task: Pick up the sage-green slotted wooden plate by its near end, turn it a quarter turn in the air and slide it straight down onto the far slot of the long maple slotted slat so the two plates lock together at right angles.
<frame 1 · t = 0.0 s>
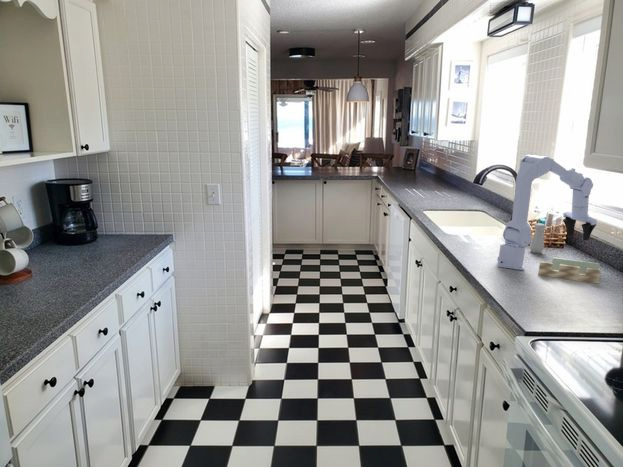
hand: (578, 237, 196), 11 cm above the countertop, tool pointing down, fingers open, 7 cm apart
green plate: (573, 272, 184), on the countertop
maple slat: (567, 278, 177), on the countertop
salt shaker: (535, 252, 211), on the countertop
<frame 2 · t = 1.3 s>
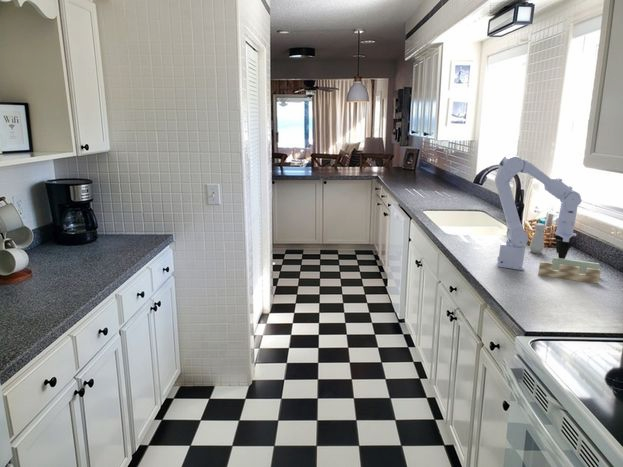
hand: (560, 255, 184), 6 cm above the countertop, tool pointing down, fingers open, 7 cm apart
nothing on the countertop moved.
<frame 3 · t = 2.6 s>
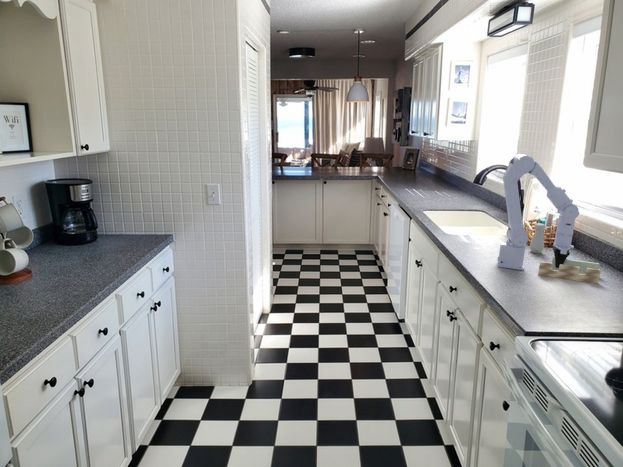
hand: (558, 267, 186), 1 cm above the countertop, tool pointing down, fingers closed on green plate
green plate: (573, 272, 184), on the countertop, touching gripper
everything else where it was.
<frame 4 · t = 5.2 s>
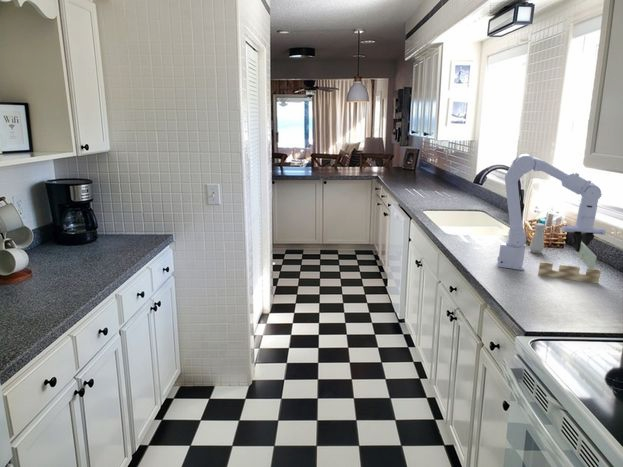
hand: (579, 251, 179), 9 cm above the countertop, tool pointing down, fingers closed on green plate
green plate: (583, 260, 175), point 7 cm above the countertop, tilted 6°, touching gripper
everything else where it was.
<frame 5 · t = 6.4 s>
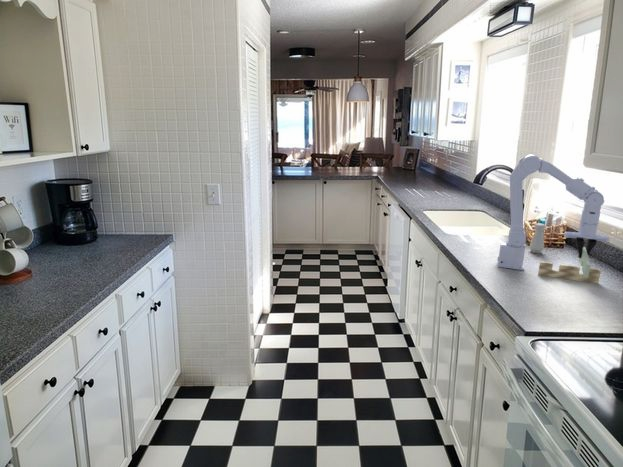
hand: (582, 258, 179), 7 cm above the countertop, tool pointing down, fingers closed on green plate
green plate: (583, 267, 175), point 5 cm above the countertop, tilted 9°, touching gripper
everything else where it was.
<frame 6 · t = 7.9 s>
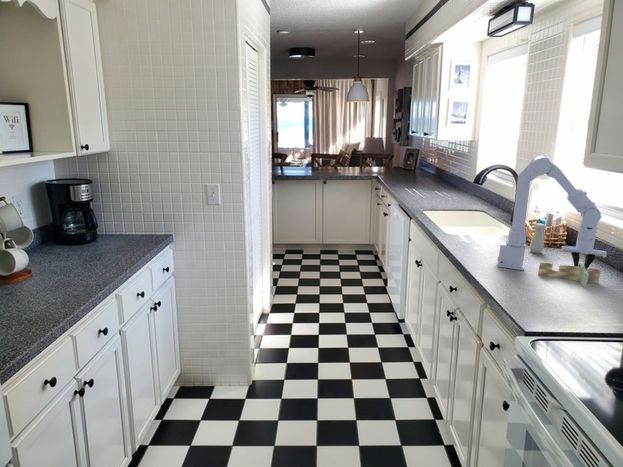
hand: (579, 272, 180), 2 cm above the countertop, tool pointing down, fingers closed
green plate: (581, 280, 176), on the countertop, touching maple slat
everything else where it was.
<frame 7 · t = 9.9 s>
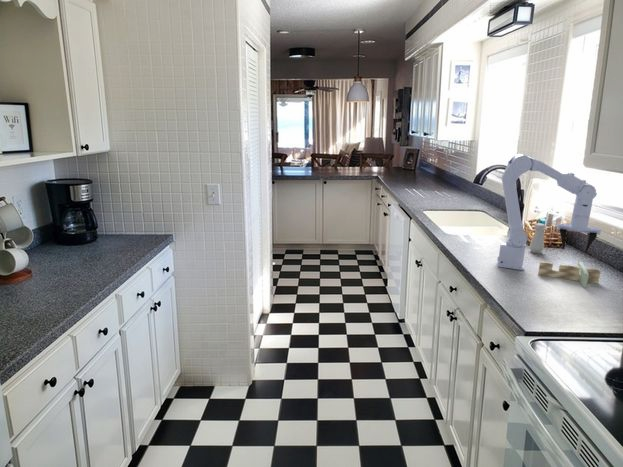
hand: (574, 250, 181), 9 cm above the countertop, tool pointing down, fingers open, 7 cm apart
nothing on the countertop moved.
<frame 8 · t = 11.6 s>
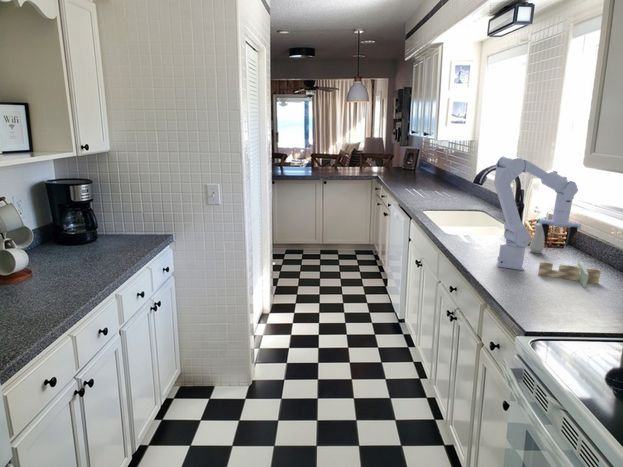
hand: (556, 244, 189), 9 cm above the countertop, tool pointing down, fingers open, 7 cm apart
nothing on the countertop moved.
at the end: green plate 0.2 cm from the target spot on the maple slat, point 0.0 cm above the maple slat's base; green plate tilted 0°; the gripper is holding nothing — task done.
